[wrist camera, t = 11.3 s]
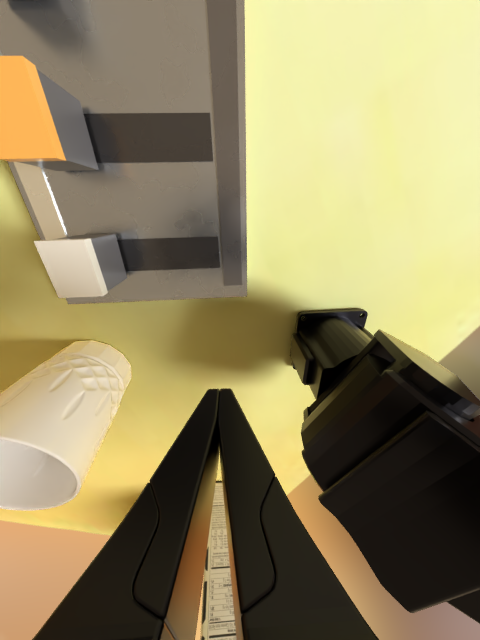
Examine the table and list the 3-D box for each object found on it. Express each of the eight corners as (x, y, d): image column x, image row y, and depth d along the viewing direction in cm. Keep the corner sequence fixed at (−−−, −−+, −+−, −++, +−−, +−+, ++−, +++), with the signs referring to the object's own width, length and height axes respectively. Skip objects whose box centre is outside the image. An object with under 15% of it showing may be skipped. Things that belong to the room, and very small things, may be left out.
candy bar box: (236, 513, 38) (243, 706, 23) (207, 515, 37) (196, 712, 23) (241, 479, 32) (254, 698, 18) (208, 479, 32) (194, 705, 17)
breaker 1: (80, 100, 11) (22, 55, 8) (99, 171, 13) (57, 157, 9) (31, 100, 11) (-48, 55, 8) (56, 172, 13) (-2, 159, 9)
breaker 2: (115, 233, 14) (83, 239, 11) (128, 278, 16) (103, 296, 12) (77, 234, 14) (33, 241, 11) (93, 279, 15) (58, 298, 12)
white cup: (34, 346, 20) (-119, 456, 11) (111, 323, 19) (15, 420, 10) (85, 403, 24) (0, 520, 15) (152, 385, 23) (105, 496, 14)
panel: (240, -145, 9) (242, -208, 8) (245, 290, 19) (247, 296, 17) (-100, -159, 9) (-163, -230, 7) (79, 297, 18) (67, 304, 17)
